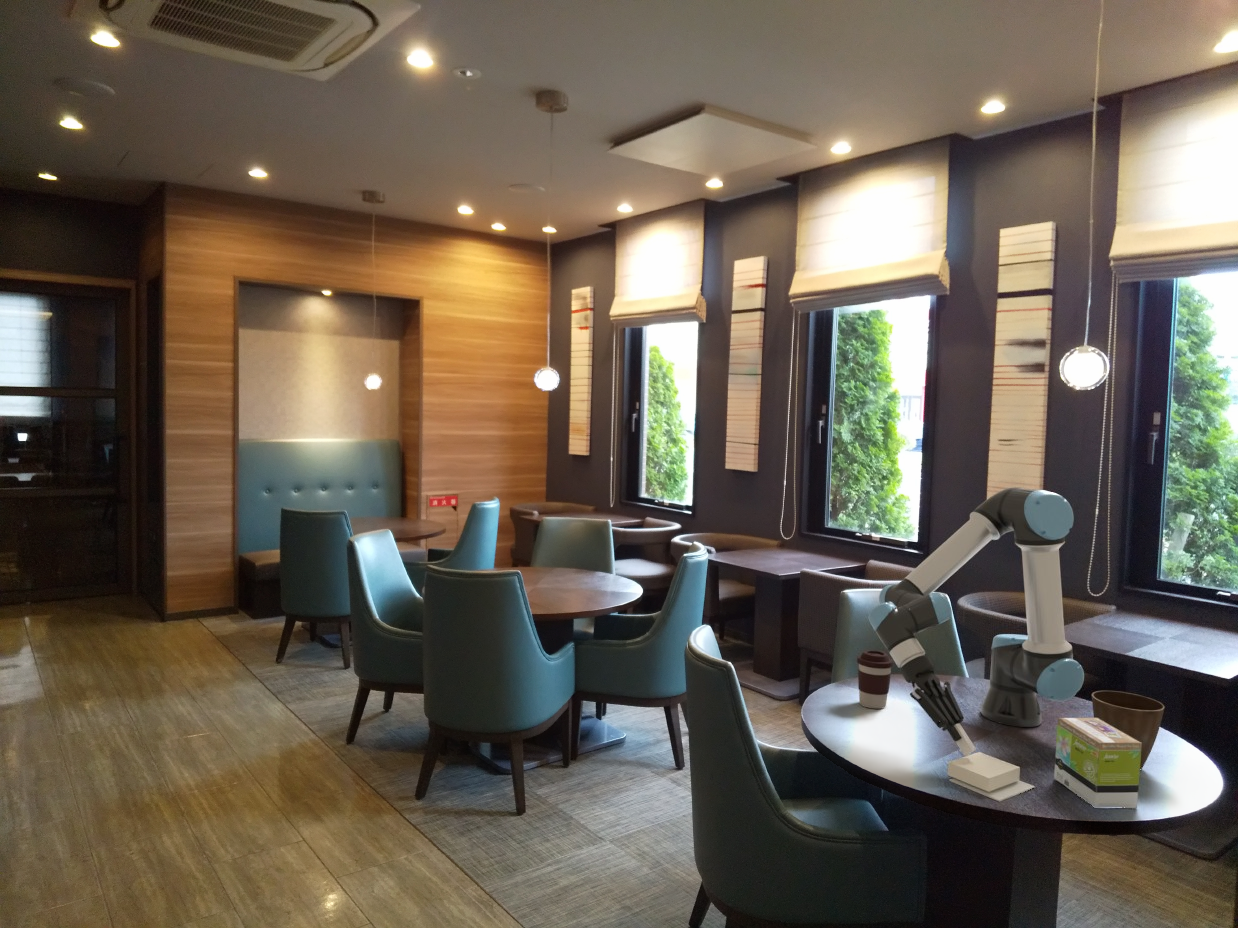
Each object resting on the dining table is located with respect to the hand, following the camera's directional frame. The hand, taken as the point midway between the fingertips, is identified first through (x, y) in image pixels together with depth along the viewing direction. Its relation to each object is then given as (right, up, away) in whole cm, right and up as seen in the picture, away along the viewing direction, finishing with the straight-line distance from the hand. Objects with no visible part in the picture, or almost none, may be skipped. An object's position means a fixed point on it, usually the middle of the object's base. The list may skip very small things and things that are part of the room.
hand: (970, 752), depth 193 cm
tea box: (+24, -7, -7) cm, 26 cm away
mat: (+3, -6, -4) cm, 8 cm away
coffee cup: (-8, -3, +47) cm, 48 cm away
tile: (-1, -3, +1) cm, 3 cm away
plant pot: (+41, -7, +10) cm, 42 cm away
